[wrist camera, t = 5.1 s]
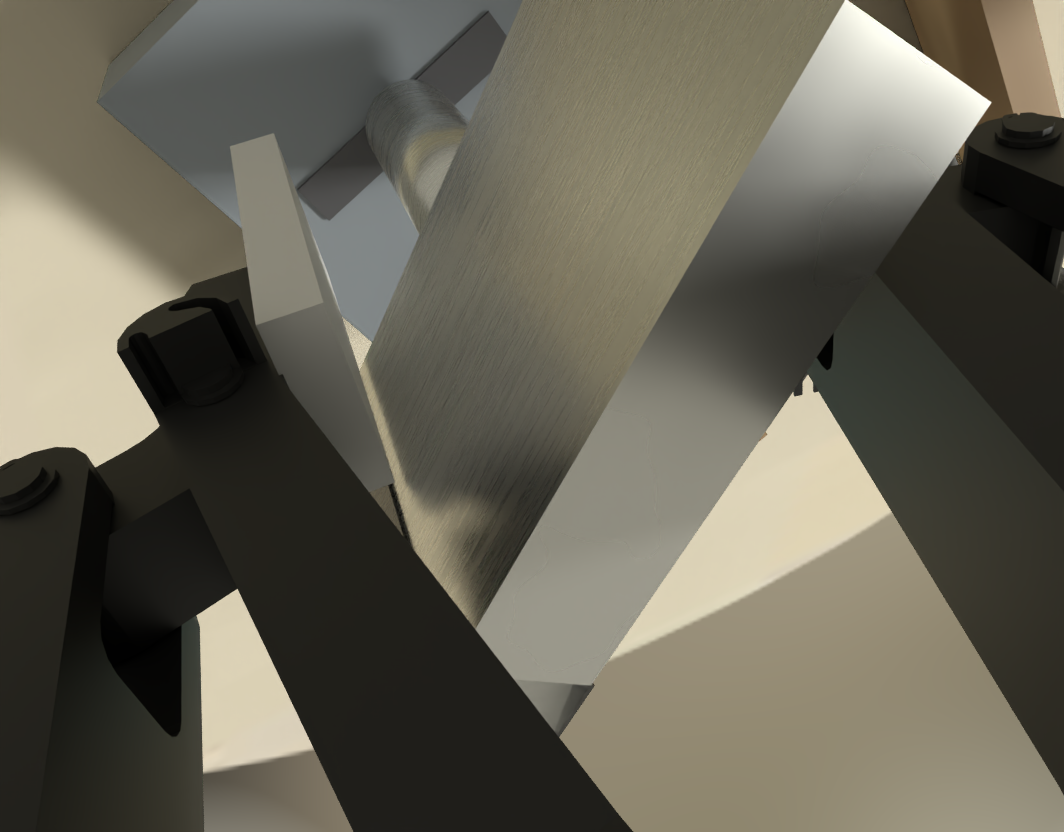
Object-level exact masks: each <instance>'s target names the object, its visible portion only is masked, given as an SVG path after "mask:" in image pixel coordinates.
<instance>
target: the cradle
mask: <svg viewBox="0 0 1064 832" xmlns="http://www.w3.org/2000/svg"><path fill="white" fill-rule="evenodd" d="M905 2H906V5H907V8H908V11H909V13H910V16H911V19H912V22H913V25H914V28H915V30H916V33H917V36H918V39H919V42H920V45H921V47H922V50H923V53H924V55H925V56H927V57H928V58H930V59H931V60H932V61H934V62H935V63H937V64H938V65H940V66H941V67H942V68H944V69H945V70H947V71H948V72H949V73H951V74H952V75H954V76H955V77H956V78H958V79H959V80H961V81H962V82H963V83H965V84H966V85H968V86H969V87H970V88H972V89H973V90H975V91H976V92H977V93H979V94H980V95H982V96H983V97H985V98H986V99H987V100H989V101H990V102H992V103H991V104H990V106H989V107H988V109H987V110H986V111H985V113H984V114H983V116H982V117H981V119H980V120H979V122H978V123H977V125H976V126H978V125H980V124H982V123H984V122H986V121H990V120H994V119H998V118H1002V117H1003V116H1004V115H1008V114H1014V113H1017V114H1018V115H1020V113H1027V112H1033V113H1037V114H1041V115H1046V116H1055V117H1060V118H1061V115H1060V111H1059V107H1058V103H1057V99H1056V95H1055V90H1054V86H1053V82H1052V78H1051V74H1050V70H1049V66H1048V62H1047V58H1046V54H1045V50H1044V45H1043V41H1042V37H1041V33H1040V29H1039V25H1038V21H1037V17H1036V13H1035V9H1034V5H1033V1H1032V0H905ZM976 126H975V127H976ZM964 147H965V142H964V143H963V145H962V146H961V148H960V149H959V151H958V152H959V155H960V157H961V160H962V162H963V154H964ZM766 435H767V433H766V432H765V433H764V434H763V436H762V437H761V439H763V438H764V437H765V436H766ZM761 439H760V440H761ZM760 440H759V441H760Z"/></svg>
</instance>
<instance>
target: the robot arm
mask: <svg viewBox="0 0 1064 832" xmlns="http://www.w3.org/2000/svg"><path fill="white" fill-rule="evenodd" d="M230 150H231V157H232V164H233V171H234V178H235V185H236V192H237V199H238V206H239V213H240V220H241V227H242V234H243V240H244V247H245V254H246V261H247V267H246V268H242V269H239V270H236V271H233V272H230V273H227V274H224V275H221V276H218V277H215V278H212V279H209V280H205V281H202V282H199V283H196V284H193V285H192V286H191V287H190V289H189V290H188V292H187V293H186V294H185V296H184V297H181V298H178V299H175V300H172V301H169V302H166V303H164V304H162V305H160V306H158V307H156V308H155V309H153V310H151V311H149V312H147V313H145V314H143V315H142V316H141V317H140V318H138V319H137V320H136V321H135V322H133V323H132V324H131V325H130V326H128V327H127V328H126V330H125V331H124V332H123V334H122V335H121V337H120V338H119V339H118V343H117V353H118V354H119V356H120V358H121V359H122V361H123V363H124V364H125V366H126V368H127V369H128V371H129V373H130V374H131V376H132V378H133V379H134V381H135V383H136V384H137V386H138V388H139V389H140V391H141V393H142V394H143V396H144V398H145V399H146V401H147V403H148V404H149V406H150V408H151V409H152V411H153V413H154V414H155V417H156V419H157V421H158V423H159V425H160V426H159V427H158V429H156V430H155V431H154V432H153V433H151V434H150V435H149V436H148V437H147V438H145V439H144V440H143V441H141V442H140V443H138V444H136V445H135V446H133V447H132V448H130V449H128V450H127V451H125V452H123V453H121V454H119V455H118V456H116V457H114V458H112V459H110V460H109V461H107V462H105V463H103V464H101V465H99V466H98V467H96V468H95V467H94V465H93V464H92V462H91V461H90V460H89V458H88V457H87V455H86V454H84V453H82V452H81V451H79V450H77V449H76V448H66V447H54V448H50V449H46V450H42V451H37V452H33V453H31V454H28V455H26V456H24V457H22V458H19V459H14V460H11V461H9V462H7V463H6V464H4V465H2V466H0V832H204V809H203V808H204V806H203V760H202V713H201V667H200V626H199V623H198V620H197V617H196V615H198V614H199V613H201V612H202V611H204V610H205V609H207V608H208V607H210V606H211V605H213V604H215V603H216V602H218V601H219V600H221V599H222V598H224V597H225V596H227V595H228V594H230V593H231V592H233V591H234V590H236V589H238V591H239V593H240V595H241V597H242V599H243V601H244V603H245V605H246V607H247V609H248V612H249V614H250V616H251V618H252V620H253V622H254V624H255V626H256V628H257V630H258V633H259V635H260V637H261V639H262V641H263V643H264V645H265V647H266V649H267V651H268V653H269V656H270V658H271V660H272V662H273V664H274V666H275V668H276V670H277V672H278V674H279V677H280V679H281V681H282V683H283V685H284V687H285V689H286V691H287V693H288V695H289V698H290V700H291V702H292V704H293V706H294V708H295V710H296V712H297V714H298V716H299V718H300V721H301V723H302V725H303V727H304V729H305V731H306V733H307V735H308V737H309V739H310V742H311V744H312V746H313V748H314V750H315V752H316V754H317V756H318V758H319V760H320V763H321V764H322V766H323V769H324V771H325V773H326V775H327V777H328V779H329V781H330V783H331V786H332V788H333V790H334V792H335V794H336V796H337V798H338V800H339V802H340V804H341V807H342V809H343V811H344V813H345V815H346V817H347V819H348V821H349V823H350V825H351V827H352V829H353V832H633V831H632V830H631V829H630V827H629V826H628V825H627V824H626V823H625V822H624V820H623V819H622V818H621V817H620V816H619V814H618V813H617V812H616V811H615V809H614V808H613V807H612V805H611V804H610V803H609V802H608V800H607V799H606V798H605V796H604V795H603V794H602V793H601V791H600V790H599V789H598V787H597V786H596V785H595V783H594V782H593V781H592V780H591V778H590V777H589V776H588V774H587V773H586V772H585V771H584V769H583V768H582V767H581V765H580V764H579V763H578V761H577V760H576V759H575V758H574V756H573V755H572V754H571V752H570V751H569V750H568V748H567V747H566V746H565V745H564V743H563V742H562V741H561V740H560V738H559V737H558V736H557V734H556V733H555V732H554V730H553V729H552V728H551V726H550V725H549V724H548V723H547V721H546V720H545V719H544V717H543V716H542V715H541V714H540V712H539V711H538V710H537V708H536V707H535V706H534V705H533V703H532V702H531V701H530V699H529V698H528V697H527V695H526V694H525V693H524V692H523V690H522V689H521V688H520V686H519V685H518V684H517V683H516V681H515V680H514V679H513V677H512V676H511V675H510V674H509V672H508V671H507V670H506V668H505V667H504V666H503V664H502V663H501V662H500V661H499V659H498V658H497V657H496V655H495V654H494V653H493V652H492V650H491V649H490V648H489V646H488V645H487V644H486V643H485V641H484V640H483V639H482V637H481V636H480V635H479V633H478V632H477V631H476V630H475V628H474V627H473V626H472V624H471V623H470V622H469V621H468V619H467V618H466V617H465V615H464V614H463V613H462V611H461V610H460V609H459V608H458V606H457V605H456V604H455V602H454V601H453V600H452V599H451V597H450V596H449V595H448V593H447V592H446V591H445V590H444V588H443V587H442V586H441V584H440V583H439V582H438V580H437V579H436V578H435V577H434V575H433V574H432V573H431V571H430V570H429V569H428V568H427V566H426V565H425V564H424V562H423V561H422V560H421V559H420V557H419V556H418V555H417V553H416V552H415V551H414V549H413V548H412V547H411V546H410V544H409V543H408V542H407V540H406V539H405V538H404V537H403V535H402V534H401V533H400V531H399V530H398V529H397V528H396V526H395V525H394V524H393V522H392V521H391V520H390V518H389V517H388V516H387V515H386V513H385V512H384V511H383V509H382V508H381V507H380V506H379V504H378V503H377V502H376V500H375V499H374V498H373V496H372V495H371V494H370V493H369V492H371V491H373V490H376V489H379V488H381V487H384V486H387V485H390V484H392V483H395V480H394V477H393V474H392V471H391V468H390V465H389V462H388V458H387V455H386V452H385V449H384V446H383V443H382V440H381V437H380V434H379V431H378V427H377V424H376V421H375V418H374V415H373V412H372V409H371V406H370V403H369V399H368V396H367V393H366V390H365V387H364V384H363V381H362V378H361V375H360V372H359V368H358V365H357V362H356V359H355V356H354V353H353V350H352V347H351V344H350V341H349V337H348V334H347V331H346V328H345V325H344V322H343V319H342V316H341V313H340V309H339V306H338V303H337V300H336V297H335V294H334V291H333V288H332V285H331V282H330V278H329V275H328V272H327V270H326V267H325V265H324V262H323V259H322V257H321V254H320V252H319V249H318V246H317V244H316V241H315V239H314V236H313V234H312V231H311V228H310V226H309V223H308V221H307V218H306V215H305V213H304V210H303V208H302V205H301V202H300V200H299V197H298V195H297V192H296V189H295V187H294V184H293V182H292V179H291V177H290V174H289V171H288V169H287V166H286V164H285V161H284V158H283V156H282V153H281V151H280V148H279V145H278V143H277V140H276V138H275V135H274V133H272V134H269V135H266V136H262V137H259V138H256V139H252V140H249V141H246V142H242V143H239V144H236V145H233V146H230ZM1063 258H1064V118H1060V117H1055V116H1046V115H1041V114H1037V113H1033V112H1027V113H1020V115H1018V114H1017V113H1014V114H1008V115H1004V116H1003V117H1002V118H998V119H994V120H990V121H986V122H984V123H982V124H980V125H978V126H976V127H974V129H973V130H972V132H971V133H970V135H969V136H968V138H967V139H966V141H965V147H964V154H963V162H962V164H960V165H954V166H948V167H947V168H946V170H945V171H944V173H943V174H942V175H941V177H940V178H939V180H938V181H937V183H936V184H935V186H934V187H933V189H932V190H931V191H930V193H929V194H928V196H927V197H926V199H925V200H924V202H923V203H922V205H921V206H920V207H919V209H918V210H917V212H916V213H915V215H914V216H913V218H912V219H911V221H910V222H909V223H908V225H907V226H906V228H905V229H904V231H903V232H902V234H901V235H900V237H899V238H898V240H897V241H896V242H895V244H894V245H893V247H892V248H891V250H890V251H889V253H888V254H887V256H886V257H885V258H884V260H883V261H882V263H881V264H880V266H879V267H878V269H877V270H876V272H875V273H874V274H873V276H872V277H871V279H870V280H869V282H868V283H867V285H866V286H865V288H864V289H863V290H862V292H861V293H860V295H859V296H858V298H857V299H856V301H855V302H854V304H853V305H852V306H851V308H850V309H849V311H848V312H847V314H846V315H845V317H844V318H843V320H842V321H841V322H840V324H839V325H838V327H837V328H836V330H835V331H834V333H833V334H832V336H831V337H830V338H829V340H828V341H827V343H826V344H825V346H824V347H823V349H822V350H821V352H820V353H819V354H818V356H817V357H816V359H815V360H814V362H813V363H812V365H811V366H810V368H809V369H808V370H807V372H806V373H805V375H804V376H803V378H802V379H801V381H800V382H799V384H798V385H797V386H796V388H795V389H794V391H793V392H794V396H799V395H802V382H803V380H804V379H805V377H806V376H807V375H809V376H810V378H811V380H812V381H813V391H814V392H818V391H819V393H820V394H821V396H822V398H823V399H824V401H825V403H826V404H827V406H828V408H829V409H830V411H831V413H832V414H833V416H834V417H835V419H836V421H837V422H838V424H839V426H840V427H841V429H842V431H843V432H844V434H845V436H846V437H847V439H848V440H849V442H850V444H851V445H852V447H853V449H854V450H855V452H856V454H857V455H858V457H859V459H860V460H861V462H862V463H863V465H864V467H865V468H866V470H867V472H868V473H869V475H870V477H871V478H872V480H873V482H874V483H875V485H876V486H877V488H878V490H879V491H880V493H881V495H882V496H883V498H884V500H885V501H886V503H887V505H888V506H889V508H890V509H891V511H892V513H893V514H894V516H895V518H896V519H897V521H898V523H899V524H900V526H901V527H902V529H903V531H904V532H905V534H906V536H907V537H908V539H909V541H910V542H911V544H912V545H913V547H914V549H915V550H916V552H917V553H918V555H919V557H920V559H921V560H922V562H923V564H924V565H925V567H926V568H927V570H928V572H929V573H930V575H931V577H932V578H933V580H934V582H935V583H936V585H937V587H938V588H939V590H940V592H941V593H942V595H943V596H944V598H945V600H946V601H947V603H948V605H949V606H950V608H951V609H952V611H953V613H954V615H955V616H956V618H957V619H958V621H959V623H960V624H961V626H962V628H963V629H964V631H965V633H966V634H967V636H968V638H969V639H970V641H971V642H972V644H973V646H974V647H975V649H976V651H977V652H978V654H979V655H980V657H981V659H982V660H983V662H984V664H985V665H986V667H987V669H988V670H989V672H990V674H991V675H992V677H993V679H994V680H995V682H996V684H997V685H998V687H999V688H1000V690H1001V692H1002V693H1003V695H1004V697H1005V698H1006V700H1007V702H1008V703H1009V705H1010V707H1011V708H1012V710H1013V711H1014V713H1015V715H1016V716H1017V718H1018V720H1019V721H1020V723H1021V725H1022V726H1023V728H1024V730H1025V731H1026V733H1027V734H1028V736H1029V738H1030V739H1031V741H1032V743H1033V744H1034V746H1035V748H1036V749H1037V751H1038V753H1039V754H1040V756H1041V757H1042V759H1043V761H1044V762H1045V764H1046V766H1047V767H1048V769H1049V770H1050V772H1051V774H1052V775H1053V777H1054V778H1055V780H1056V782H1057V784H1058V785H1059V787H1060V789H1061V791H1062V793H1063V794H1064V285H1063V284H1061V283H1059V282H1058V281H1059V276H1060V272H1061V267H1062V263H1063Z"/></svg>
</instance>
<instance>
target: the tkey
mask: <svg viewBox="0 0 1064 832" xmlns="http://www.w3.org/2000/svg"><path fill="white" fill-rule="evenodd" d="M991 103H992V102H990V101H989V100H987V99H986V98H985V97H983V96H982V95H980V94H979V93H977V92H976V91H975V90H973V89H972V88H970V87H969V86H968V85H966V84H965V83H963V82H962V81H961V80H959V79H958V78H956V77H955V76H954V75H952V74H951V73H949V72H948V71H947V70H945V69H944V68H942V67H941V66H940V65H938V64H937V63H935V62H934V61H932V60H931V59H930V58H928V57H927V56H925V55H924V54H923V53H921V52H920V51H918V50H917V49H916V48H914V47H913V46H911V45H910V44H909V43H907V42H906V41H904V40H903V39H902V38H900V37H899V36H897V35H896V34H895V33H893V32H892V31H890V30H889V29H887V28H886V27H885V26H883V25H882V24H880V23H879V22H878V21H876V20H875V19H873V18H872V17H871V16H869V15H868V14H866V13H865V12H864V11H862V10H861V9H859V8H858V7H857V6H855V5H854V4H852V3H851V2H849V1H848V0H522V3H521V5H520V7H519V10H518V12H517V14H516V16H515V19H514V21H513V23H512V26H511V28H510V30H509V32H508V35H507V37H506V39H505V41H504V44H503V46H502V48H501V51H500V53H499V55H498V57H497V60H496V62H495V64H494V66H493V69H492V71H491V73H490V76H489V78H488V80H487V82H486V85H485V87H484V89H483V91H482V94H481V96H480V98H479V101H478V103H477V105H476V107H475V110H474V112H473V114H472V117H471V119H470V121H468V120H467V119H466V118H465V117H464V116H463V114H462V113H461V112H460V111H459V110H458V109H457V108H456V107H455V106H454V105H453V104H452V103H451V102H450V101H449V99H448V98H447V97H446V96H445V95H444V94H443V93H442V92H441V91H440V90H439V89H437V88H436V87H435V86H433V85H431V84H429V83H426V82H424V81H420V80H402V81H398V82H395V83H393V84H391V85H389V86H387V87H386V88H384V89H383V90H382V91H381V92H380V93H379V94H378V95H377V96H376V97H375V99H374V100H373V102H372V103H371V106H370V108H369V110H368V113H367V118H366V134H367V139H368V142H369V145H370V147H371V149H372V151H373V152H374V154H375V156H376V158H377V160H378V161H379V163H380V165H381V167H382V169H383V170H384V172H385V174H386V176H387V178H388V179H389V181H390V183H391V185H392V187H393V188H394V190H395V192H396V194H397V196H398V197H399V199H400V201H401V203H402V204H403V206H404V208H405V210H406V212H407V213H408V215H409V217H410V219H411V221H412V222H413V224H414V226H415V228H416V230H417V231H418V233H419V237H418V239H417V242H416V244H415V246H414V248H413V251H412V253H411V255H410V258H409V260H408V262H407V264H406V267H405V269H404V271H403V273H402V276H401V278H400V280H399V283H398V285H397V287H396V289H395V292H394V294H393V296H392V299H391V301H390V303H389V305H388V308H387V310H386V312H385V314H384V317H383V319H382V321H381V324H380V326H379V328H378V330H377V333H376V335H375V337H374V339H373V342H372V344H371V346H370V349H369V351H368V353H367V355H366V358H365V360H364V362H363V364H362V367H361V369H360V371H359V372H360V375H361V378H362V381H363V384H364V387H365V390H366V393H367V396H368V399H369V403H370V406H371V409H372V412H373V415H374V418H375V421H376V424H377V427H378V431H379V434H380V437H381V440H382V443H383V446H384V449H385V452H386V455H387V458H388V462H389V465H390V468H391V471H392V474H393V477H394V480H395V483H392V484H390V485H387V486H384V487H381V488H379V489H376V490H373V491H371V492H369V493H370V494H371V495H372V496H373V498H374V499H375V500H376V502H377V503H378V504H379V506H380V507H381V508H382V509H383V511H384V512H385V513H386V515H387V516H388V517H389V518H390V520H391V521H392V522H393V524H394V525H395V526H396V528H397V529H398V530H399V531H400V533H401V534H402V535H403V537H404V538H405V539H406V540H407V542H408V543H409V544H410V546H411V547H412V548H413V549H414V551H415V552H416V553H417V555H418V556H419V557H420V559H421V560H422V561H423V562H424V564H425V565H426V566H427V568H428V569H429V570H430V571H431V573H432V574H433V575H434V577H435V578H436V579H437V580H438V582H439V583H440V584H441V586H442V587H443V588H444V590H445V591H446V592H447V593H448V595H449V596H450V597H451V599H452V600H453V601H454V602H455V604H456V605H457V606H458V608H459V609H460V610H461V611H462V613H463V614H464V615H465V617H466V618H467V619H468V621H469V622H470V623H471V624H472V626H473V627H474V628H475V630H476V631H477V632H478V633H479V635H480V636H481V637H482V639H483V640H484V641H485V643H486V644H487V645H488V646H489V648H490V649H491V650H492V652H493V653H494V654H495V655H496V657H497V658H498V659H499V661H500V662H501V663H502V664H503V666H504V667H505V668H506V670H507V671H508V672H509V674H510V675H511V676H512V677H513V679H514V680H515V681H516V683H517V684H518V685H519V686H520V688H521V689H522V690H523V692H524V693H525V694H526V695H527V697H528V698H529V699H530V701H531V702H532V703H533V705H534V706H535V707H536V708H537V710H538V711H539V712H540V714H541V715H542V716H543V717H544V719H545V720H546V721H547V723H548V724H549V725H550V726H551V728H552V729H553V730H554V732H555V733H556V734H557V736H558V737H559V736H560V735H561V734H562V732H563V731H564V729H565V728H566V726H567V725H568V724H569V722H570V721H571V719H572V718H573V716H574V715H575V713H576V712H577V710H578V709H579V708H580V706H581V705H582V703H583V702H584V700H585V699H586V697H587V696H588V695H589V693H590V692H591V690H592V689H593V687H594V684H593V682H594V680H595V679H596V677H597V676H598V675H599V673H600V672H601V670H602V669H603V667H604V666H605V664H606V663H607V661H608V660H609V659H610V657H611V656H612V654H613V653H614V651H615V650H616V648H617V647H618V645H619V644H620V643H621V641H622V640H623V638H624V637H625V635H626V634H627V632H628V631H629V629H630V628H631V627H632V625H633V624H634V622H635V621H636V619H637V618H638V616H639V615H640V613H641V612H642V611H643V609H644V608H645V606H646V605H647V603H648V602H649V600H650V599H651V597H652V596H653V595H654V593H655V592H656V590H657V589H658V587H659V586H660V584H661V583H662V581H663V580H664V579H665V577H666V576H667V574H668V573H669V571H670V570H671V568H672V567H673V565H674V564H675V563H676V561H677V560H678V558H679V557H680V555H681V554H682V552H683V551H684V549H685V548H686V547H687V545H688V544H689V542H690V541H691V539H692V538H693V536H694V535H695V533H696V532H697V531H698V529H699V528H700V526H701V525H702V523H703V522H704V520H705V519H706V517H707V516H708V514H709V513H710V512H711V510H712V509H713V507H714V506H715V504H716V503H717V501H718V500H719V498H720V497H721V496H722V494H723V493H724V491H725V490H726V488H727V487H728V485H729V484H730V482H731V481H732V480H733V478H734V477H735V475H736V474H737V472H738V471H739V469H740V468H741V466H742V465H743V464H744V462H745V461H746V459H747V458H748V456H749V455H750V453H751V452H752V450H753V449H754V448H755V446H756V445H757V443H758V442H759V440H760V439H761V437H762V436H763V434H764V433H765V432H766V430H767V429H768V427H769V426H770V424H771V423H772V421H773V420H774V418H775V417H776V416H777V414H778V413H779V411H780V410H781V408H782V407H783V405H784V404H785V402H786V401H787V400H788V398H789V397H790V395H791V394H792V392H793V391H794V389H795V388H796V386H797V385H798V384H799V382H800V381H801V379H802V378H803V376H804V375H805V373H806V372H807V370H808V369H809V368H810V366H811V365H812V363H813V362H814V360H815V359H816V357H817V356H818V354H819V353H820V352H821V350H822V349H823V347H824V346H825V344H826V343H827V341H828V340H829V338H830V337H831V336H832V334H833V333H834V331H835V330H836V328H837V327H838V325H839V324H840V322H841V321H842V320H843V318H844V317H845V315H846V314H847V312H848V311H849V309H850V308H851V306H852V305H853V304H854V302H855V301H856V299H857V298H858V296H859V295H860V293H861V292H862V290H863V289H864V288H865V286H866V285H867V283H868V282H869V280H870V279H871V277H872V276H873V274H874V273H875V272H876V270H877V269H878V267H879V266H880V264H881V263H882V261H883V260H884V258H885V257H886V256H887V254H888V253H889V251H890V250H891V248H892V247H893V245H894V244H895V242H896V241H897V240H898V238H899V237H900V235H901V234H902V232H903V231H904V229H905V228H906V226H907V225H908V223H909V222H910V221H911V219H912V218H913V216H914V215H915V213H916V212H917V210H918V209H919V207H920V206H921V205H922V203H923V202H924V200H925V199H926V197H927V196H928V194H929V193H930V191H931V190H932V189H933V187H934V186H935V184H936V183H937V181H938V180H939V178H940V177H941V175H942V174H943V173H944V171H945V170H946V168H947V167H948V165H949V164H950V162H951V161H952V159H953V158H954V157H955V155H956V154H957V152H958V151H959V149H960V148H961V146H962V145H963V143H964V142H965V141H966V139H967V138H968V136H969V135H970V133H971V132H972V130H973V129H974V127H975V126H976V125H977V123H978V122H979V120H980V119H981V117H982V116H983V114H984V113H985V111H986V110H987V109H988V107H989V106H990V104H991Z"/></svg>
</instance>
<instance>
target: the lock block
mask: <svg viewBox="0 0 1064 832" xmlns="http://www.w3.org/2000/svg"><path fill="white" fill-rule="evenodd" d="M521 3H522V0H173V1H172V2H171V3H170V4H169V5H168V6H167V7H166V8H165V9H164V10H163V11H162V12H161V13H160V14H159V15H158V16H157V17H156V18H155V19H154V20H153V21H152V22H151V23H150V24H149V25H148V26H147V27H146V28H145V29H144V30H143V31H142V32H141V33H140V34H139V35H138V36H137V37H136V38H135V39H134V40H133V41H132V42H131V43H130V44H129V45H128V46H127V47H126V48H125V49H124V50H123V51H122V52H121V53H120V54H119V55H118V56H117V57H116V58H115V59H114V60H113V62H112V63H111V64H110V65H109V66H108V69H107V73H106V76H105V79H104V82H103V85H102V88H101V91H100V94H99V97H98V100H97V103H98V104H99V105H101V106H102V107H103V108H104V109H105V110H106V111H107V112H109V113H110V114H111V115H112V116H113V117H114V118H115V119H117V120H118V121H119V122H120V123H121V124H122V125H124V126H125V127H126V128H127V129H128V130H129V131H130V132H132V133H133V134H134V135H135V136H136V137H137V138H138V139H140V140H141V141H142V142H143V143H144V144H145V145H146V146H148V147H149V148H150V149H151V150H152V151H153V152H154V153H156V154H157V155H158V156H159V157H160V158H161V159H162V160H164V161H165V162H166V163H167V164H168V165H169V166H171V167H172V168H173V169H174V170H175V171H176V172H177V173H179V174H180V175H181V176H182V177H183V178H184V179H185V180H187V181H188V182H189V183H190V184H191V185H192V186H193V187H195V188H196V189H197V190H198V191H199V192H200V193H201V194H203V195H204V196H205V197H206V198H207V199H208V200H210V201H211V202H212V203H213V204H214V205H215V206H216V207H218V208H219V209H220V210H221V211H222V212H223V213H224V214H226V215H227V216H228V217H229V218H230V219H231V220H232V221H234V222H235V223H236V224H237V225H238V226H239V227H240V228H242V227H241V220H240V213H239V206H238V199H237V192H236V185H235V178H234V171H233V164H232V157H231V150H230V146H233V145H236V144H239V143H242V142H246V141H249V140H252V139H256V138H259V137H262V136H266V135H269V134H272V133H274V135H275V138H276V140H277V143H278V145H279V148H280V151H281V153H282V156H283V158H284V161H285V164H286V166H287V169H288V171H289V174H290V177H291V179H292V182H293V184H294V187H295V189H296V192H297V195H298V197H299V200H300V202H301V205H302V208H303V210H304V213H305V215H306V218H307V221H308V223H309V226H310V228H311V231H312V234H313V236H314V239H315V241H316V244H317V246H318V249H319V252H320V254H321V257H322V259H323V262H324V265H325V267H326V270H327V272H328V275H329V278H330V282H331V285H332V288H333V291H334V294H335V297H336V300H337V303H338V306H339V309H340V313H341V316H343V317H344V318H345V319H346V320H347V321H348V322H349V323H351V324H352V325H353V326H354V327H355V328H356V329H357V330H359V331H360V332H361V333H362V334H363V335H364V336H365V337H367V338H368V339H369V340H370V341H371V342H373V339H374V337H375V335H376V333H377V330H378V328H379V326H380V324H381V321H382V319H383V317H384V314H385V312H386V310H387V308H388V305H389V303H390V301H391V299H392V296H393V294H394V292H395V289H396V287H397V285H398V283H399V280H400V278H401V276H402V273H403V271H404V269H405V267H406V264H407V262H408V260H409V258H410V255H411V253H412V251H413V248H414V246H415V244H416V242H417V239H418V237H419V233H418V231H417V230H416V228H415V226H414V224H413V222H412V221H411V219H410V217H409V215H408V213H407V212H406V210H405V208H404V206H403V204H402V203H401V201H400V199H399V197H398V196H397V194H396V192H395V190H394V188H393V187H392V185H391V183H390V181H389V179H388V178H387V176H386V174H385V172H384V170H383V169H382V167H381V165H380V163H379V161H378V160H377V158H376V156H375V154H374V152H373V151H372V149H371V147H370V145H369V142H368V139H367V134H366V118H367V113H368V110H369V108H370V106H371V103H372V102H373V100H374V99H375V97H376V96H377V95H378V94H379V93H380V92H381V91H382V90H383V89H384V88H386V87H387V86H389V85H391V84H393V83H395V82H398V81H402V80H420V81H424V82H426V83H429V84H431V85H433V86H435V87H436V88H437V89H439V90H440V91H441V92H442V93H443V94H444V95H445V96H446V97H447V98H448V99H449V101H450V102H451V103H452V104H453V105H454V106H455V107H456V108H457V109H458V110H459V111H460V112H461V113H462V114H463V116H464V117H465V118H466V119H467V120H468V121H470V119H471V117H472V114H473V112H474V110H475V107H476V105H477V103H478V101H479V98H480V96H481V94H482V91H483V89H484V87H485V85H486V82H487V80H488V78H489V76H490V73H491V71H492V69H493V66H494V64H495V62H496V60H497V57H498V55H499V53H500V51H501V48H502V46H503V44H504V41H505V39H506V37H507V35H508V32H509V30H510V28H511V26H512V23H513V21H514V19H515V16H516V14H517V12H518V10H519V7H520V5H521Z"/></svg>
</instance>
